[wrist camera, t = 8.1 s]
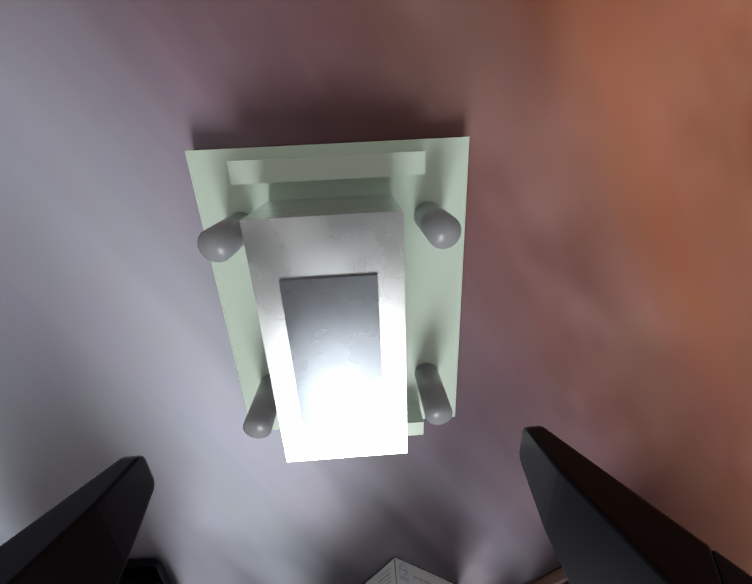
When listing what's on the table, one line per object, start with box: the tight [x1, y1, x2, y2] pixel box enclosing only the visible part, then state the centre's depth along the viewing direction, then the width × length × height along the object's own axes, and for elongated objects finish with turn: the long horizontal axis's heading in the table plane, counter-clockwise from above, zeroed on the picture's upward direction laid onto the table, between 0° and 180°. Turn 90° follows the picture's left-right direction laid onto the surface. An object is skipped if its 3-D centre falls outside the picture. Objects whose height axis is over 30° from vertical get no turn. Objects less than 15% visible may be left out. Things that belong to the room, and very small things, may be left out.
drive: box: [239, 194, 408, 462], centre depth 15 cm, size 5×10×4 cm, turn 3°
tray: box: [185, 137, 469, 445], centre depth 15 cm, size 11×14×4 cm
